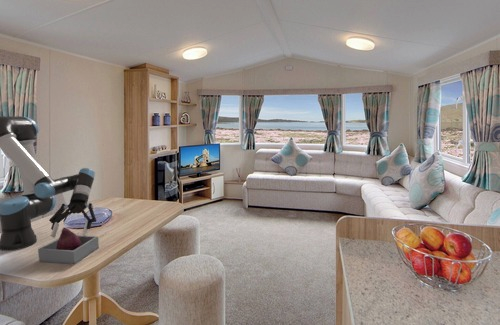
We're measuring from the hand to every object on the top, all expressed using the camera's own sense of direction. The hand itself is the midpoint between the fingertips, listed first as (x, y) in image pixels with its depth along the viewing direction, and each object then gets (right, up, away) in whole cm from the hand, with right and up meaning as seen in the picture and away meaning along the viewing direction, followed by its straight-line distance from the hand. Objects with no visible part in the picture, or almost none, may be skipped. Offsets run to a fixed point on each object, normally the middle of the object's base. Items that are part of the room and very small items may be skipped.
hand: (68, 236), depth 134 cm
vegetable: (-1, -8, +2) cm, 9 cm away
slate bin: (0, -9, +2) cm, 10 cm away
